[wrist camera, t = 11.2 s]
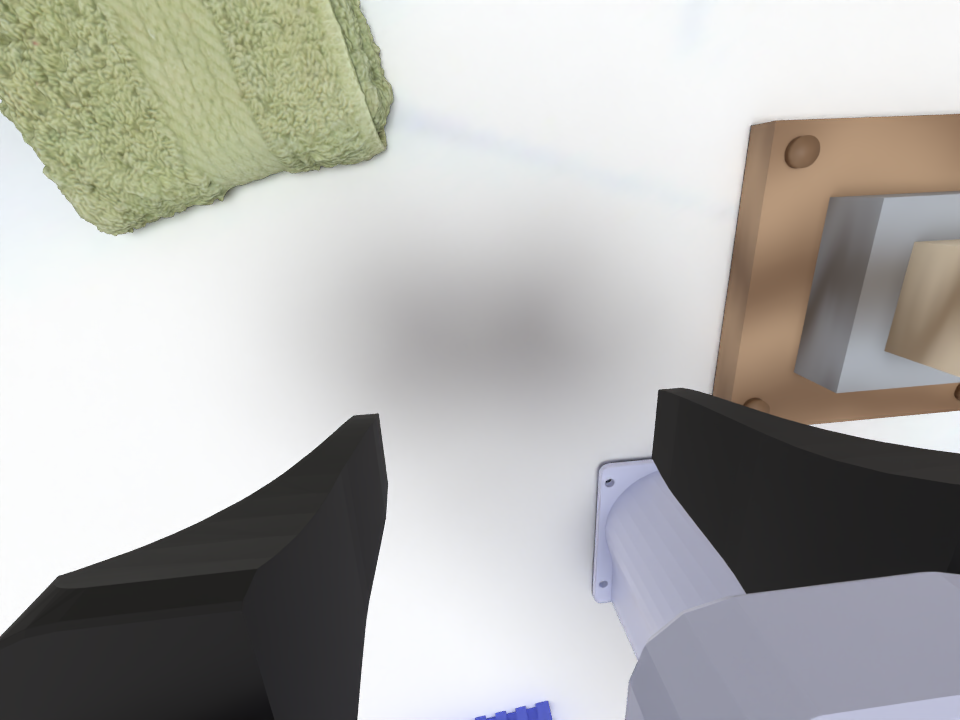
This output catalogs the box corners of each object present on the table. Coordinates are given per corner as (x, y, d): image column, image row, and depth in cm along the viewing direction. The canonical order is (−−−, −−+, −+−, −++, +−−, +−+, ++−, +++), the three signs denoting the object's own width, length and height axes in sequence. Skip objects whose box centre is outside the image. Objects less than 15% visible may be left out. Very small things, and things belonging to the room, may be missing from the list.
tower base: (948, 396, 26) (1037, 431, 22) (709, 418, 25) (759, 459, 21) (1044, 114, 21) (1179, 98, 17) (751, 125, 20) (826, 110, 16)
